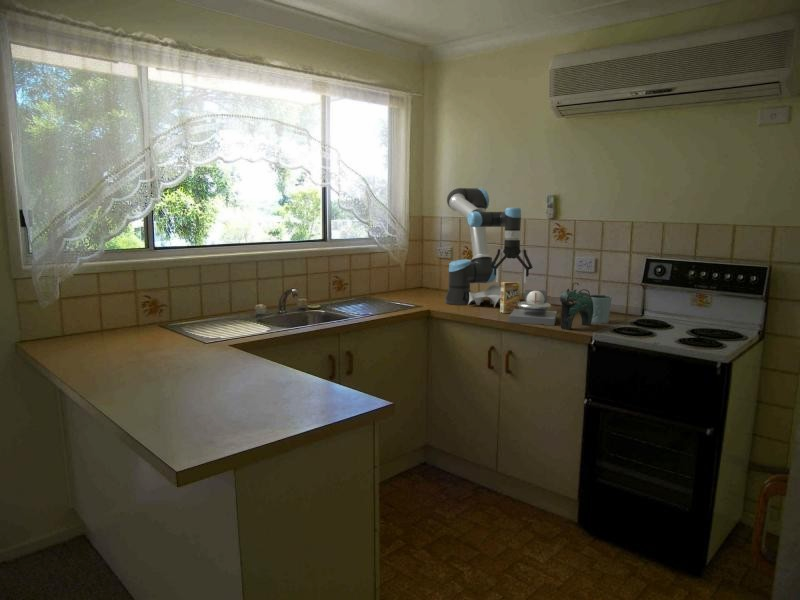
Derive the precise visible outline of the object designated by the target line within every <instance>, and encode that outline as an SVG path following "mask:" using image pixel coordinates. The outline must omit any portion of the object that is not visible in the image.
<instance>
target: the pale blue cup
mask: <svg viewBox="0 0 800 600" xmlns="http://www.w3.org/2000/svg"><path fill="white" fill-rule="evenodd" d="M590 296H591V298H592V301H593V316H592V321H591V323H592V322H593V323H594V324H600V323H604V324H609V322H610V312H611V307H612V306H611V305H612V300H613V297H612V296H611V295H608V294H590ZM593 323H592V324H593Z"/></svg>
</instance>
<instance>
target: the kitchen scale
mask: <svg viewBox="0 0 800 600" xmlns="http://www.w3.org/2000/svg"><path fill="white" fill-rule="evenodd" d="M547 297H548V290H547V289H533V288H532V289H527V288H525V291H524V301H536V302H545V303H547ZM557 313H558V311H557V310H555V311H554V310H547V308H546V309H530V308H523V309H522V308H521V309H520V308H519V309H514V310H513V311H512V313H509V315H508V323H512V324H524V323H530V324H529V325H539V324H544V325H543V326H555V324H556V321H557Z"/></svg>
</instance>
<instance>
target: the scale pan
mask: <svg viewBox="0 0 800 600" xmlns="http://www.w3.org/2000/svg"><path fill="white" fill-rule="evenodd" d="M517 306H519V308H521V309H522V308H523V309H525V308H530V309H546V310H547V309H550V308H551V307H552V304H551V303H548V302H546V303H545V302H536V301H525V300H524V301H520V302H518V303H517Z"/></svg>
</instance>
